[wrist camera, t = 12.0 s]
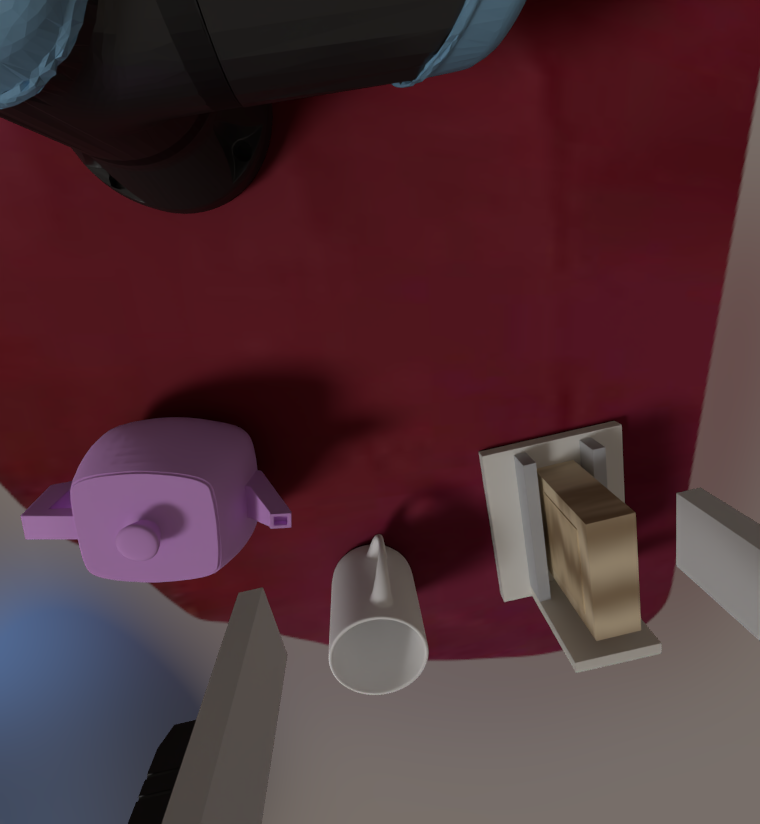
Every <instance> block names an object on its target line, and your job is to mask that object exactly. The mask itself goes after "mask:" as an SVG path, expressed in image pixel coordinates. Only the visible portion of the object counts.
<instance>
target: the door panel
mask: <svg viewBox="0 0 760 824" xmlns="http://www.w3.org/2000/svg"><path fill="white" fill-rule="evenodd" d="M537 477H538V486H539V495H540V504H541V513H542V522H543V531H544V540H545V549H546V558H547V567H548V570H549V571H550V573H551V574H552V576H553V577H554V579H555V580H556V582H557V583H558V585H559V586H560V588H561V589H562V591H563V592H564V594H565V595H566V597H567V598H568V600H569V601H570V603H571V604H572V606H573V607H574V609H575V610H576V612H577V613H578V615H579V616H580V618H581V619H582V621H583V622H584V624H585V625H586V626H587V628H588V629H589V631H590V632H591V634H592V635H593V637H594V638H595V640H596V641H599V640H603V639H607V638H611V637H615V636H620V635H624V634H628V633H632V632H636V631H640V630H641V615H640V594H639V573H638V551H637V530H636V512H634V511H633V510H632V509H631V508H630V507H628V506H627V505H626V504H625V503H624V502H623V501H621V500H620V499H619V498H618V497H617V496H615V495H614V494H613V493H612V492H611V491H609V490H608V489H607V488H606V487H605V486H604V485H602V484H601V483H600V482H599V481H598V480H596V479H595V478H594V477H593V476H592V475H591V474H589V473H588V472H587V471H586V470H585V469H583V468H582V467H581V466H580V465H579V464H578V463H576V462H575V461H574V460H571V461H567V462H563V463H559V464H554V465H550V466H546V467H542V468H538V469H537Z"/></svg>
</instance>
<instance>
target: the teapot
mask: <svg viewBox="0 0 760 824" xmlns="http://www.w3.org/2000/svg"><path fill="white" fill-rule="evenodd" d="M21 519H22V525H23V529H24V534H25V539H78V542H79V547H80V551H81V554H82V558H83V560H84V563H85V566H86V568H87V569H88V571H89V572H90V573H91V574H93V575H96V576H98V577H101V578H105V579H112V580H119V581H130V582H169V581H179V580H188V579H195V578H200V577H205V576H208V575H211V574H214V573H215V572H217V571H218V570H219V569H221V568H222V567H223V566H225V565H226V564H227V563H228V562H229V561H230V560H231V559H232V558H234V557H235V556H236V555H237V554H238V553H239V552H240V550H241V549H242V548H243V547H244V545H245V544H246V543H247V541H248V540H249V538H250V537H251V535H252V533H253V531H254V529H255V526H256V523H257V521H258V522H260V523H263V524H265V525H267V526H270V529H273V528H288V527H291V511H290V509H289V508H288V506H287V505H286V504H285V502H284V501H283V500H282V498H281V497H280V495H279V494H278V493H277V491H276V490H275V489H274V487H273V486H272V484H271V483H270V482H269V480H268V479H267V478H266V476H265V475H264V474H263V472H262V471H260V470H258V469H257V462H256V456H255V451H254V446H253V443H252V440H251V438H250V436H249V435H248V434H247V433H246V431H244V430H243V429H242V428H240V427H237V426H235V425H232V424H228V423H224V422H218V421H212V420H205V419H198V418H186V417H165V418H155V419H148V420H141V421H136V422H131V423H128V424H124V425H121V426H118V427H116V428H113V429H111V430H109V431H108V432H107V433H105V434H104V435H103V436H102V437H101V438H100V439H99V440H98V441H96V442H95V443H94V445H93V446H92V447H91V448H90V449H89V451H88V452H87V453H86V455H85V456H84V458H83V460H82V462H81V463H80V465H79V467H78V469H77V472H76V474H75V476H74V478H73V481H70V482H65V483H60V484H55V485H50V486H49V488H48V489H47V490H46V491H45V492H44V493H43V494H42V495H41V496H40V497H39V498H38V499H37V500H36V501H35V502H34V503H33V504H32V505H31V506H30V507H29V508H28V509H27V510H26V511H25V512H24V513H23V514H22V515H21Z"/></svg>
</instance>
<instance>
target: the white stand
mask: <svg viewBox="0 0 760 824" xmlns="http://www.w3.org/2000/svg"><path fill="white" fill-rule="evenodd" d="M479 458H480V464H481V471H482V477H483V484H484V490H485V496H486V503H487V509H488V516H489V522H490V529H491V535H492V541H493V548H494V554H495V561H496V567H497V573H498V580H499V586H500V593H501V596H502V598H503V600H504V602H506V601H511V600H515V599H520V598H524V597H528V596H533V598H534V600H535V601H536V603H537V605H538V607H539V608H540V610H541V612H542V614H543V615H544V617H545V619H546V621H547V623H548V624H549V626H550V628H551V630H552V631H553V633H554V635H555V637H556V638H557V640H558V642H559V644H560V645H561V647H562V649H563V651H564V653H565V654H566V656H567V658H568V660H569V661H570V663H571V665H572V667H573V668H574V670H575V672H576V673H578V672H583V671H587V670H591V669H596V668H600V667H604V666H609V665H613V664H618V663H622V662H626V661H631V660H635V659H640V658H643V657H648V656H652V655H657V654H661V653H662V652H661V651H662V650H661V649H662V648H661V647H662V646H661V642H660V641H659V640H658V639H657V637H656V636H655V635H654V634H653V633H652V631H650V629H649V628H648V627H647V625H646V624H645V623H644V622H643V621H642V619H641V630H640V631H636V632H632V633H628V634H624V635H620V636H615V637H611V638H607V639H603V640H599V641H596V640H595V638H594V637H593V635H592V634H591V632H590V631H589V629H588V628H587V626H586V625H585V624H584V622H583V621H582V619H581V618H580V616H579V615H578V613H577V612H576V610H575V609H574V607H573V606H572V604H571V603H570V601H569V600H568V598H567V597H566V595H565V594H564V592H563V591H562V589H561V588H560V586H559V585H558V583H557V582H556V580H555V579H554V577H553V576H552V574H551V573H550V571H549V570H548V567H547V558H546V549H545V540H544V531H543V522H542V513H541V504H540V495H539V486H538V477H537V469H538V468H542V467H546V466H550V465H554V464H559V463H563V462H567V461H571V460H574V461H575V462H576V463H578V464H579V465H580V466H581V467H582V468H583V469H585V470H586V471H587V472H588V473H589V474H591V475H592V476H593V477H594V478H595V479H596V480H598V481H599V482H600V483H601V484H602V485H604V486H605V487H606V488H607V489H608V490H609V491H611V492H612V493H613V494H614V495H615V496H617V497H618V498H619V499H620V500H621V501H623V502H624V503H625V494H624V470H623V445H622V425H621V424H620V423H618V422H616V421H611V422H607V423H602V424H598V425H594V426H589V427H585V428H580V429H576V430H572V431H567V432H563V433H559V434H554V435H550V436H545V437H541V438H537V439H532V440H528V441H523V442H519V443H515V444H510V445H506V446H501V447H497V448H493V449H488V450H484V451H479Z"/></svg>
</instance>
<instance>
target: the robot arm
mask: <svg viewBox="0 0 760 824" xmlns="http://www.w3.org/2000/svg"><path fill="white" fill-rule="evenodd" d="M525 2H526V0H0V117H1V118H4V119H6V120H8V121H11V122H13V123H15V124H17V125H20V126H22V127H24V128H27V129H29V130H31V131H34V132H36V133H38V134H41V135H43V136H45V137H48V138H50V139H52V140H55V141H57V142H59V143H62V144H64V145H66V146H69V147H71V148H72V149H73V151H74V152H75V153H76V154H77V156H78V157H79V158H80V160H81V161H82V162H83V163H84V164H85V165H86V166H87V167H88V169H89V170H90V171H91V172H92V173H93V174H95V175H96V176H97V177H98V178H99V179H100V180H101V181H102V182H104V183H105V184H106V185H108V186H109V187H110V188H112V189H113V190H115V191H116V192H118V193H119V194H121V195H123V196H125V197H126V198H128V199H130V200H133V201H135V202H137V203H140V204H142V205H145V206H148V207H151V208H154V209H158V210H161V211H166V212H171V213H182V214H188V213H199V212H204V211H208V210H212V209H214V208H217V207H219V206H222V205H224V204H225V203H227V202H229V201H231V200H232V199H233V198H235V197H236V196H237V195H239V194H240V193H241V192H242V191H243V190H244V189H245V188H246V187H247V186H248V185H249V184H250V183H251V181H252V180H253V178H254V177H255V176H256V174H257V172H258V171H259V169H260V167H261V165H262V163H263V161H264V158H265V156H266V153H267V150H268V146H269V142H270V137H271V131H272V118H273V115H272V103H275V102H281V101H287V100H293V99H299V98H306V97H312V96H318V95H324V94H330V93H337V92H343V91H349V90H355V89H361V88H368V87H374V86H380V85H386V84H392V85H393V86H395V87H401V88H403V87H410V86H413V85H414V84H416V83H419V82H422V81H423V80H424V79H426V78H428V77H433V76H437V75H442V74H447V73H451V72H456V71H461V70H464V69H467V68H470V67H472V66H473V65H474V64H476V63H478V62H479V61H481V60H482V59H484V58H486V57H487V56H488V55H489V54H490V53H491V52H492V51H494V50H495V49H496V48H497V46H498V45H499V44H500V43H501V41H502V40H503V39H504V37H505V36H506V35H507V33H508V32H509V30H510V29H511V27H512V26H513V24H514V22H515V21H516V19H517V17H518V15H519V14H520V12H521V10H522V8H523V6H524V4H525ZM676 566H677V567H678V568H679V569H681V570H682V571H683V572H684V573H685V574H686V575H687V576H688V577H689V578H691V579H692V580H693V581H694V582H695V583H696V584H698V586H699V587H701V588H702V589H703V590H704V591H705V592H706V593H707V594H708V595H709V596H711V597H712V598H713V599H714V600H715V601H716V602H717V603H718V604H720V605H721V606H722V607H723V608H724V609H725V610H726V611H727V612H728V613H729V614H731V615H732V616H733V617H734V618H735V619H736V620H737V621H738V622H739V623H741V624H742V625H743V626H744V627H745V628H746V629H747V630H748V631H749V632H750V633H752V634H753V635H754V636H755V637H756V638H757V639H758V640H759V641H760V524H759V523H757V522H755V521H754V520H752V519H751V518H749V517H747V516H745V515H744V514H742V513H740V512H739V511H738V510H736V509H734V508H732V507H731V506H730V505H728V504H726V503H725V502H723V501H722V500H720V499H718V498H717V497H715V496H713V495H712V494H710V493H709V492H707V491H705V490H704V489H702V488H697V489H692V490H688V491H683V492H679V493H676ZM286 661H287V652H286V649H285V646H284V644H283V641H282V638H281V636H280V633H279V630H278V627H277V625H276V622H275V619H274V617H273V614H272V611H271V608H270V606H269V603H268V600H267V598H266V595H265V592H264V589H263V588H258V589H254V590H250V591H245V592H241V593H238V596H237V599H236V602H235V605H234V608H233V611H232V614H231V617H230V620H229V623H228V627H227V630H226V633H225V636H224V638H223V641H222V644H221V647H220V650H219V653H218V656H217V659H216V662H215V665H214V668H213V671H212V674H211V677H210V680H209V684H208V686H207V689H206V692H205V695H204V698H203V701H202V704H201V707H200V710H199V713H198V716H197V719H196V720H194V721H189V722H185V723H181V724H176V725H174V726H173V728H172V729H171V730H170V732H169V733H168V735H167V736H166V738H165V739H164V740H163V742H162V743H161V744H160V746H159V747H158V749H157V751H156V754H155V756H154V759H153V761H152V764H151V766H150V769H149V771H148V774H147V780H145V781H144V784H143V786H142V789H141V792H140V794H139V801H138V802H136V804H135V807H134V809H133V812H132V814H131V817H130V819H129V822H128V824H261V823H262V817H263V810H264V803H265V797H266V791H267V784H268V778H269V771H270V765H271V758H272V752H273V745H274V739H275V732H276V726H277V719H278V713H279V706H280V700H281V693H282V686H283V680H284V674H285V667H286Z"/></svg>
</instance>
